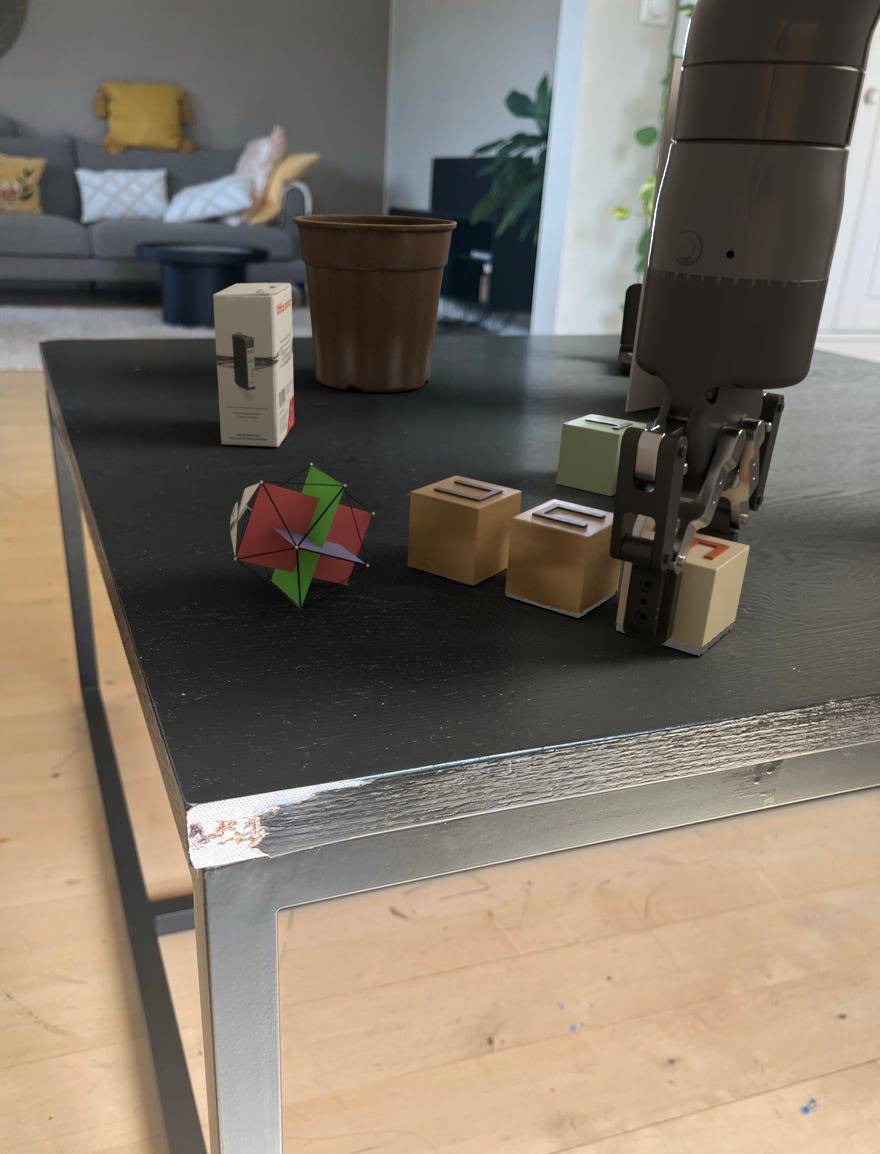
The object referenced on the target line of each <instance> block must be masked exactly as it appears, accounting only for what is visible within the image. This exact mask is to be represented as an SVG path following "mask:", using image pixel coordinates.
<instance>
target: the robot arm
mask: <svg viewBox="0 0 880 1154" xmlns="http://www.w3.org/2000/svg"><path fill="white" fill-rule="evenodd" d="M879 22H880V0H697V1H696V3H695V4H694V6H693V9H692V12H691V15H690V17H689V23H688V27H687V32H686V35H685V43H684V48H683V57H682V59H683V63H682V71H681V76H680V83H679V91H678V98H677V105H676V112H675V119H674V126H673V133H672V140H673V142H675V143H673V144H671V146H670V151H669V157H668V161H667V165H666V169H665V173H664V176H663V180H662V184H661V187H660V191H659V195H658V199H657V205H656V211H655V217H654V225H653V232H652V240H651V247H650V254H649V262H648V268H647V276H646V283H645V290H644V298H643V305H642V312H641V319H640V326H639V333H638V341H637V348H636V355H635V357H636V362H637V364H638V366H639V367H640V368H641V369H642V370H643V371H644V372H646V373H648V374H650V375H653V376H659V377H660V378H661V379H662V380H663V382H664V383H665V385H666V392H665V394H664V397H663V401H662V404H661V406H660V408H659V411H658V414H657V417H656V418H655V420H654V422H653V424H652V428H651V429H647V428H646V429H642V428H637V427H632V426H629V427H628V428H627V429H626V430H625V432H624V434H623V436H622V440H621V447H620V456H619V466H618V476H617V485H616V494H615V495H614V505H613V506H614V507H613V513H614V514H613V524H612V534H611V543H610V556H611V557H612V558H615V559H619V560H622V562H625V561H626V562H630V563H632V568H631V575H630V581H629V588H628V595H627V601H626V608H625V615H624V621H623V631H624V633H625V634H624V635H625V636H626V637H628V638H630V639H633V640H637V641H640V642H643V643H646V644H649V645H652V646H656V647H659V646H662V644H664V643H665V642H666V641H667V640H669V639H670V638H671V636H672V632H673V626H674V620H675V614H676V609H677V603H678V597H679V591H680V586H681V580H682V574H683V570H682V569H683V567H684V566H685V563H686V558H687V556H688V553H689V550H690V547H691V544H692V541H693V539H694V536H695V533H699V534H703V535H707V536H711V537H715V538H720V539H724V540H728V541H732V542H736V543H738V539H739V532H736V531H740V532H742V531H744V529H745V528H746V526H747V524H749V521H750V511H752V512H757V511H758V510H759V508H760V507H761V506H762V505H763V502H764V493H765V489H766V484H767V480H768V475H769V471H770V466H771V462H772V457H773V453H774V449H775V444H776V440H777V436H778V431H779V428H780V423H781V419H782V414H783V412H784V409H785V406H786V405H785V395H784V394H780V393H775V392H769V391H765V390H777V389H778V390H779V389H786V388H790V387H793V386H796V385H798V384H800V383H802V382H803V381H804V380H805V379H806V378H807V376H808V375H809V373H810V369H811V364H812V360H813V356H814V355H813V354H814V350H815V346H816V341H817V337H818V333H819V327H820V322H821V317H822V314H823V308H824V303H825V300H826V299H825V298H826V295H827V294H826V293H827V290H828V285H829V280H830V275H831V270H832V265H833V261H834V256H835V251H836V247H837V242H838V238H839V232H840V228H841V223H842V217H843V212H844V205H845V195H846V181H847V180H846V179H847V169H848V168H847V167H848V160H849V156H850V150H849V149H848V148H849V147H850V146H851V144H852V139H853V136H854V135H853V134H854V131H855V126H856V121H857V117H858V111H859V107H860V103H861V102H860V101H861V97H862V92H863V87H864V83H865V80H866V79H865V78H866V73H865V72H866V71H867V68H868V67H867V66H868V63H869V62H868V61H869V57H870V50H871V45H872V41H873V37H874V34H875V32H876V29H877V26H878V24H879ZM680 497H685V498H689V499H693V501H692V502H684V501H680ZM636 515H637V517H636V518H635V516H636ZM676 528H677V531H676ZM654 531H655V534H654V540H651V539H650V537H651V534H652V532H654ZM675 533H676V534H675Z"/></svg>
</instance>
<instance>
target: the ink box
mask: <svg viewBox="0 0 880 1154" xmlns="http://www.w3.org/2000/svg"><path fill="white" fill-rule="evenodd" d="M292 297H293V296H292V284H291V283H289V282H248V283H247V282H246V283H245V282H244V283H243V282H241V283H234V284H232V285H230V286H228V287H226V288H223V289H222V290H220V291H218V292H215V293H214V294H212V298H213V318H214V321H213V322H214V335H215V336H214V337H215V338H214V339H215V353H216V354H215V356H216V370H217V371H216V372H217V386H218V387H217V388H218V406H219V407H218V408H219V426H220V427H219V428H220V429H219V430H220V441H221V443H220V444H221V445H223V446H243V447H244V446H247V447H264V448H265V447H266V448H267V447H269V448H279V447H280V445H281V444H282V442H283V441H284V439H285V438H286V437H287V435H288V434H289V432H290V431H291V429H292V428H293V427H294V425H295V390H294V389H295V388H294V386H295V385H294V352H293V351H294V346H293V345H294V342H293V304H292V303H293V300H292V299H293V298H292Z"/></svg>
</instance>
